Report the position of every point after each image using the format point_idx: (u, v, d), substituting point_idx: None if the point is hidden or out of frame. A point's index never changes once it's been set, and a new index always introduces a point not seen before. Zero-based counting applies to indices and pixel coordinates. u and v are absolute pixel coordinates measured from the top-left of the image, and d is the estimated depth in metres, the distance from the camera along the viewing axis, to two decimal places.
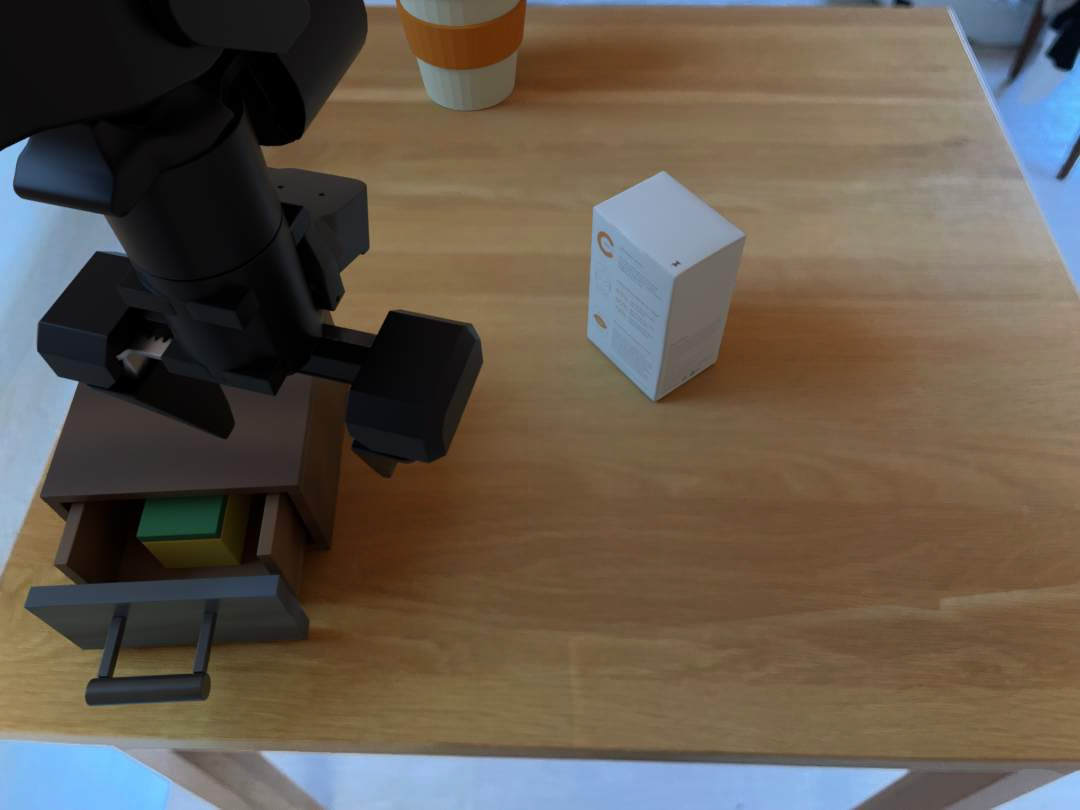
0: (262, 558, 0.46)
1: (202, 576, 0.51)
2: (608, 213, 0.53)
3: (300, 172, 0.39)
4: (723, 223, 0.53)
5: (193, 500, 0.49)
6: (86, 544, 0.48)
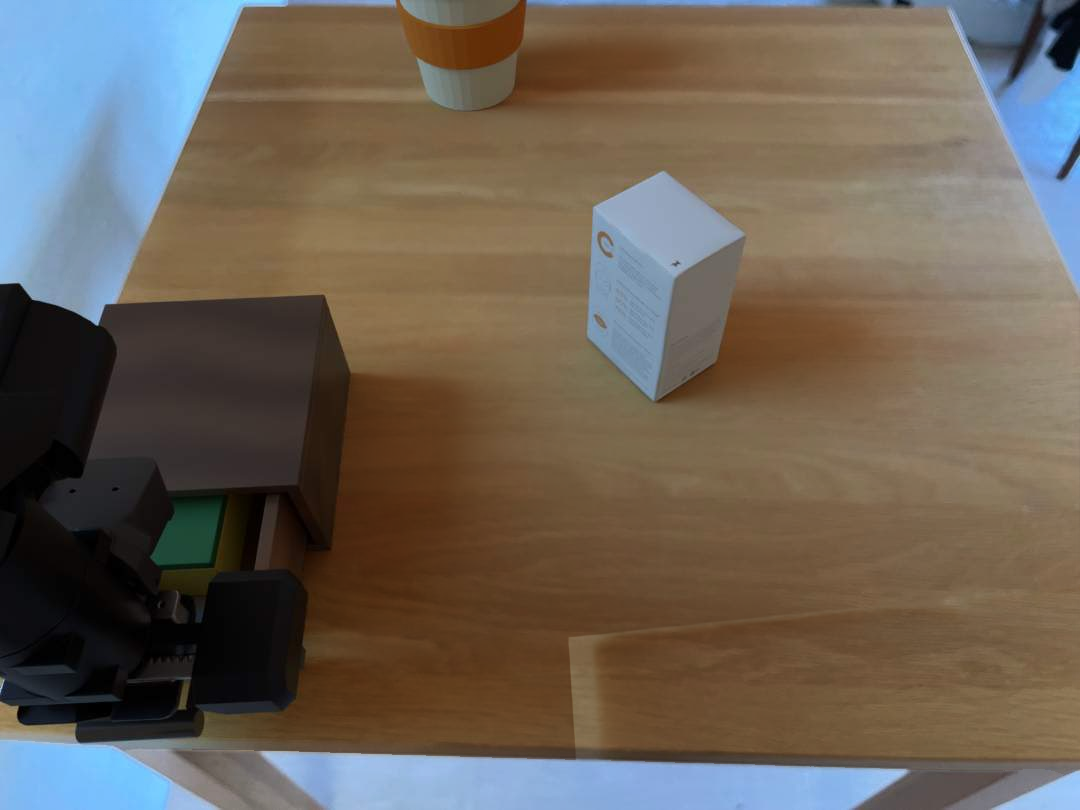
0: None
1: (196, 605, 0.50)
2: (608, 213, 0.53)
3: (87, 464, 0.41)
4: (723, 223, 0.53)
5: (187, 528, 0.48)
6: None
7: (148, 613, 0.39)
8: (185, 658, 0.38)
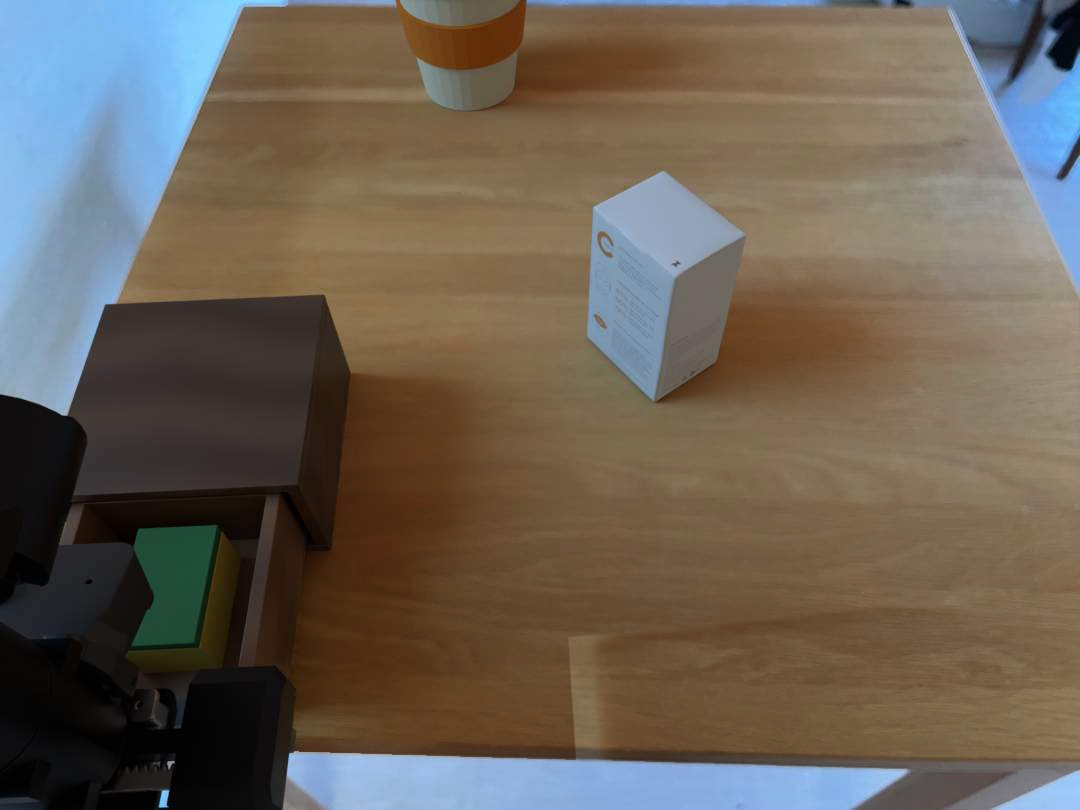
0: None
1: (181, 682, 0.48)
2: (608, 213, 0.53)
3: (60, 550, 0.38)
4: (723, 223, 0.53)
5: (170, 605, 0.45)
6: None
7: (124, 717, 0.36)
8: (163, 767, 0.35)
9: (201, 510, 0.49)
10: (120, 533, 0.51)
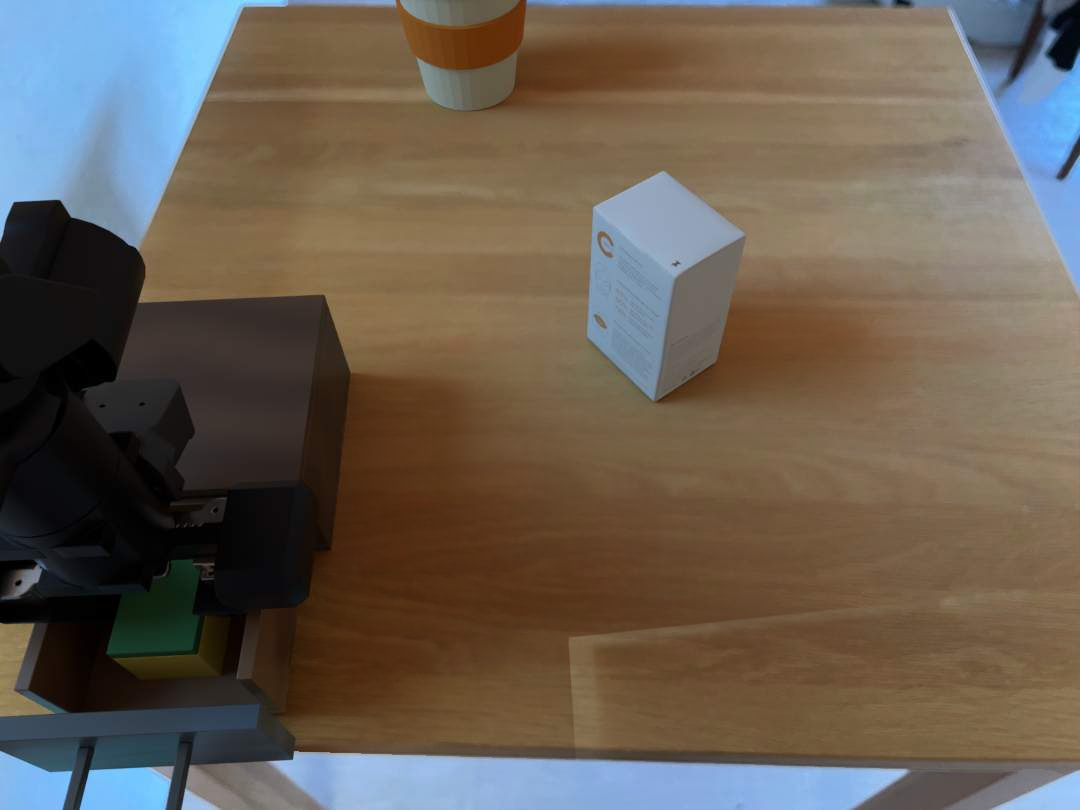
0: (242, 681, 0.42)
1: (179, 688, 0.47)
2: (608, 213, 0.53)
3: (115, 384, 0.44)
4: (723, 223, 0.53)
5: (169, 611, 0.45)
6: (51, 662, 0.44)
7: (172, 518, 0.42)
8: None
9: None
10: None
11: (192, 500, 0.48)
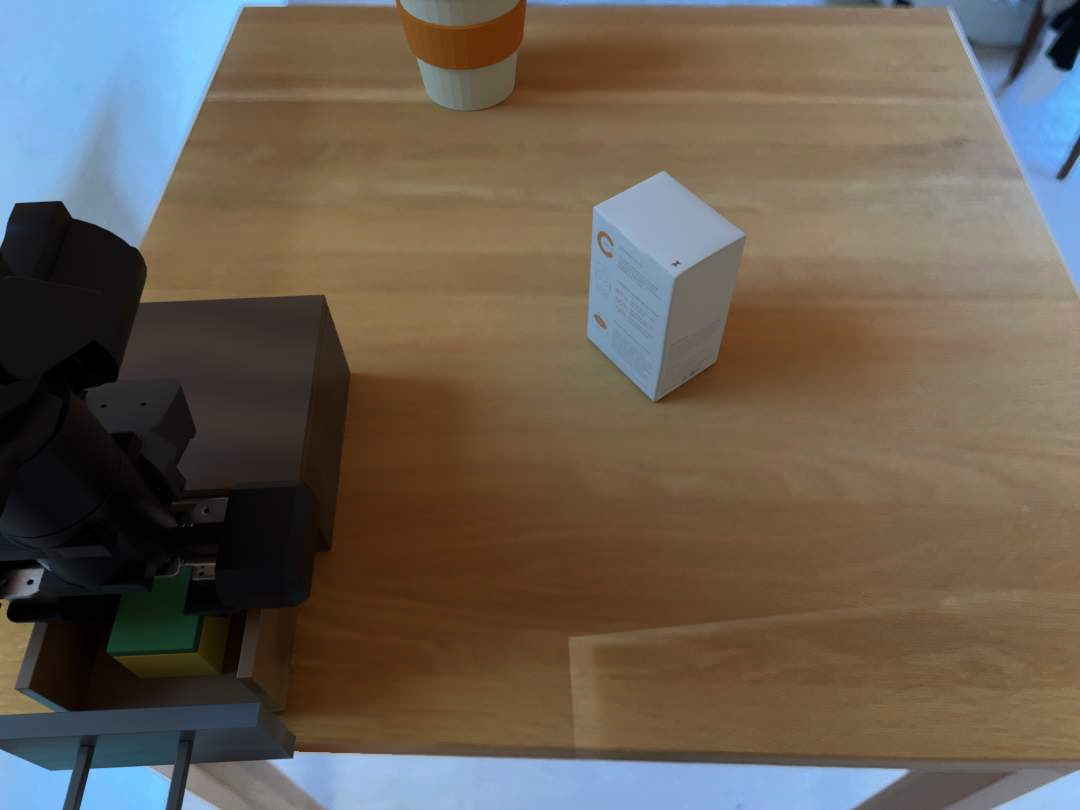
0: (243, 680, 0.43)
1: (180, 687, 0.47)
2: (608, 213, 0.53)
3: (117, 384, 0.44)
4: (723, 223, 0.53)
5: (169, 609, 0.45)
6: (52, 661, 0.44)
7: (174, 517, 0.42)
8: None
9: None
10: None
11: (192, 499, 0.48)
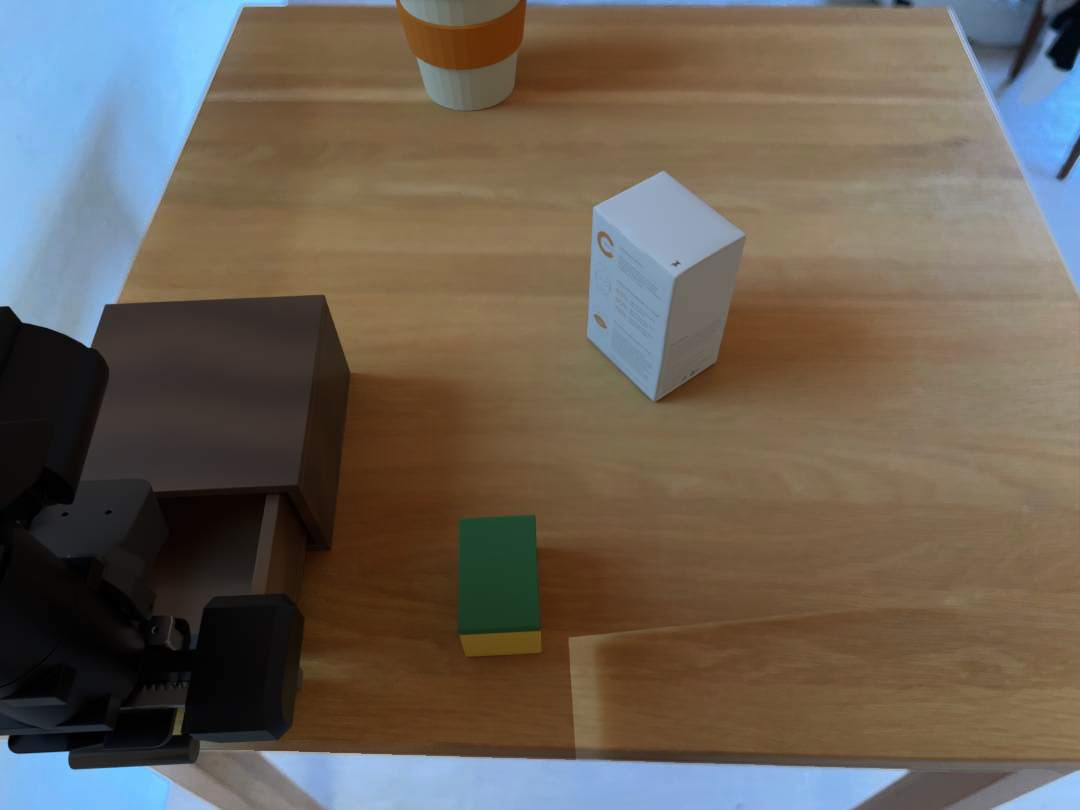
0: None
1: (192, 625, 0.49)
2: (608, 213, 0.53)
3: (80, 485, 0.40)
4: (723, 223, 0.53)
5: (508, 590, 0.48)
6: None
7: (141, 639, 0.38)
8: (178, 685, 0.37)
9: None
10: None
11: None
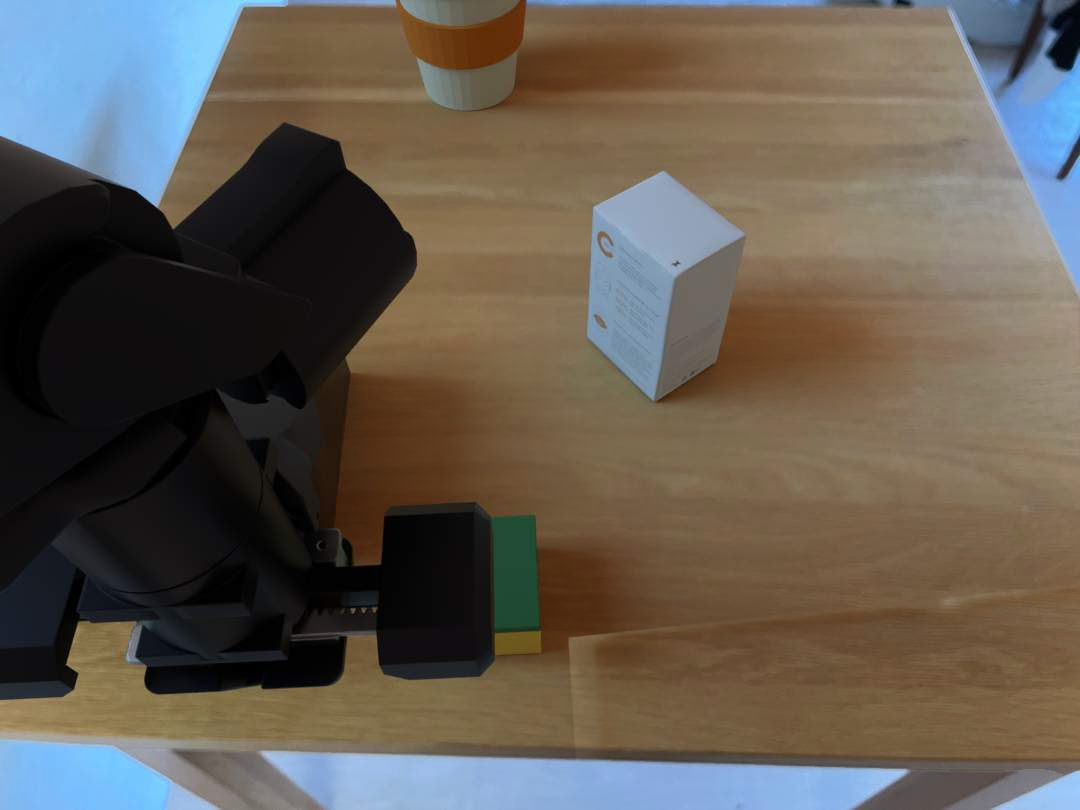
0: None
1: None
2: (608, 213, 0.53)
3: None
4: (723, 223, 0.53)
5: (508, 590, 0.48)
6: None
7: (308, 554, 0.31)
8: (358, 609, 0.30)
9: None
10: None
11: None
